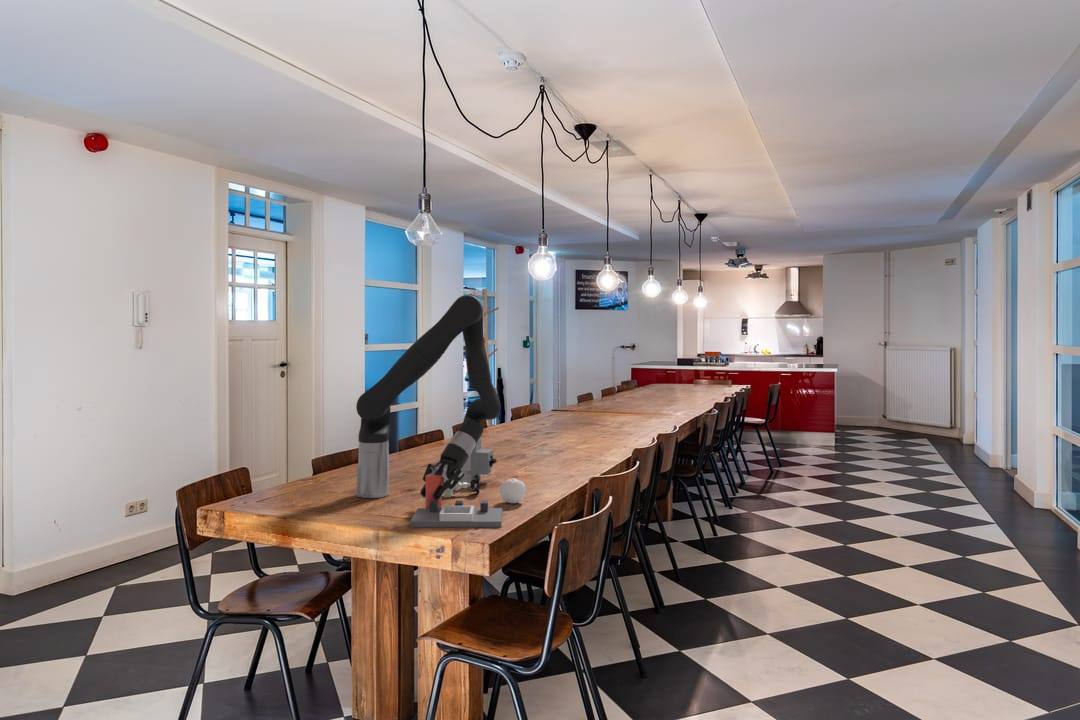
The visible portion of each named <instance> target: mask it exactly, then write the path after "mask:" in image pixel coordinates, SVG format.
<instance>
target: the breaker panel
mask: <svg viewBox="0 0 1080 720" xmlns="http://www.w3.org/2000/svg"><path fill="white" fill-rule="evenodd" d="M454 503H455V505H442V506H441V508H438V501H431V502H430V508H425V507H418V508H417V509H416V510H415V512H414V514H413V515H412V517H411V519H410V521H409V527H410V528H502V525H503V523H502V522H503V507H489V500H480V506H479V507H475V505H464V500H455V502H454Z"/></svg>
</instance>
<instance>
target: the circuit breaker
mask: <svg viewBox="0 0 1080 720" xmlns="http://www.w3.org/2000/svg"><path fill="white" fill-rule="evenodd" d="M497 462H498V461H497V458H494V449H493V448H482V438H481V437H480V438H479V440H478V442H477V443H476V445H475V447H474V449H473V451H472V453H471V454H470V456H469V458H468V459H467V461H466V463H465V464H464V466H463V467H462V469H461V470H462V472H463V473H464V476H463V478H462V479H461V480H460V481H459V482H461V484H462V483H463V482H467V484H468V483H470V482H471V481H472V480H475V478H474V476H475V474H478V475H479V477H478V478H479V479H480V480H481V479H482V476H481V475H485V476H486V475H489V474H490V473H491V472H493V471H494V465H495V464H496V463H497ZM453 482H454V480H453Z"/></svg>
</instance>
